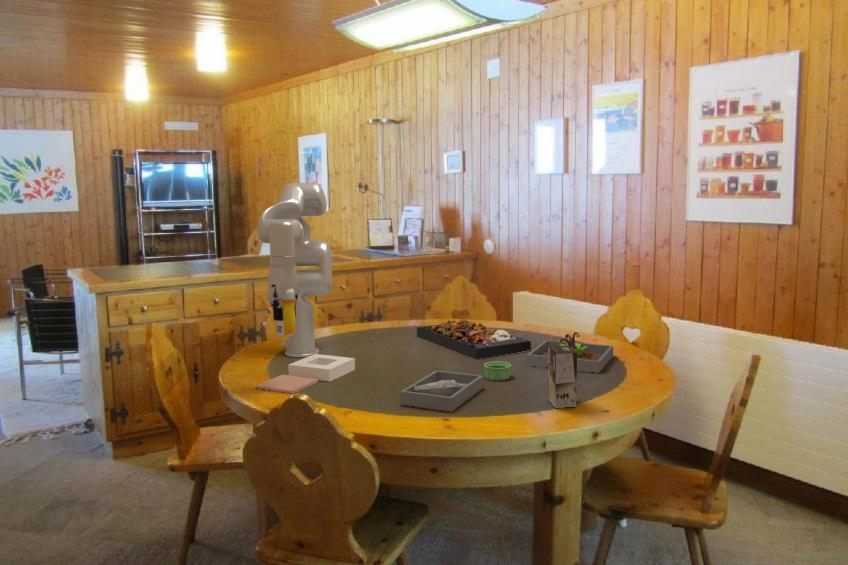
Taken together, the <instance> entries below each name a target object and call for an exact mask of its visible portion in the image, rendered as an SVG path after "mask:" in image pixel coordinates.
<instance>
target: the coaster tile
mask: <svg viewBox="0 0 848 565" xmlns="http://www.w3.org/2000/svg"><path fill="white" fill-rule="evenodd" d="M317 383H319V380H318V379H313V378H305V377H297V376H290V375H289V374H281V375H278V376H276V377H273V378H271V379H268V380H266V381H264V382H262V383H259V384H256V385H255V389H256V388H259V389H258V390H261V389H265V390H264V391H268V390H271V391H270V392H275V391H277V393H282V392H284V394H289V393H290V395H294V394H296V393H298V392H301V391H302V390H304V389H307V388H309V387H311V386H313V385H315V384H317ZM295 392H296V393H295Z"/></svg>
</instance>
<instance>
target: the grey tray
mask: <svg viewBox="0 0 848 565" xmlns="http://www.w3.org/2000/svg"><path fill="white" fill-rule="evenodd" d="M440 380H444V381H445V380H449V381H450V380H455V381H456V382H457V383H460V384H464V383H465V384H467V385H466V386H464V387H463V388H462V389H460V390H459V391H457V392H456V393H454V394H453V395H452V396H450V397H448V396H441V395H433V394H425V393H417V392H412V391H413V389H414V386H413V385H416V386H417V387H418V386H420V385H425V384H428V383H434V382H438V381H440ZM482 389H484V376H483V375H480V374H470V373H462V372H453V371H446V370H445V371H443V370H434V371H433V372H431V373H430V374H427V375H426V376H423V377H422V378H421V379H419V380H418V381H416V382H414V383H413V384H410V385H409V386H407V387H406V388H404V389H402V390H401V391H400V392H399V393H400V394H399V395H400V398H399V399H400V406H405V405H407V407H412V406H414V408H419V407H420V409H421V408H422V409H426V408H427V410H434V409H435V411H441V410H442V411H441V412H448V411H449V412H448V413H453V412H455V410H457V409H458V408H459V407H460V406H462V405H463V404H465V403H466V402H467V401H469V400H470V399H471V398H472V397H474V395H476V394H478V393H479V392H480V391H481V390H482ZM477 392H478V393H477ZM465 401H466V402H465ZM457 407H458V408H457ZM452 411H453V412H452Z"/></svg>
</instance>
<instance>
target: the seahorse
mask: <svg viewBox="0 0 848 565" xmlns="http://www.w3.org/2000/svg"><path fill="white" fill-rule="evenodd" d="M466 385H467V384H465V383H464V384H460V383H457V382H456V381H455V380H450V381H449V380H445V381H444V380H440V381H438V382H434V383H428V384H425V385H420V386H418V387H417V386H416V385H413V386H414V389H413V391H412V392H417V393H425V394H433V395H441V396H448V397H450V396H452V395H453V394H454V393H456V392H457V391H459V390H460V389H462V388H463V387H464V386H466Z"/></svg>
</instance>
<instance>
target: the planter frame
mask: <svg viewBox="0 0 848 565" xmlns="http://www.w3.org/2000/svg"><path fill="white" fill-rule="evenodd" d="M577 343H578V344H581V346H580V348H581V347H585V346H588V347H587V348H585V349H584V350H586V351H588V352H592V353H596V354H600V355H602V356H601V357H600V358H599V359H598V360H597V361H593V360H583V359H577V370H578V371H577V372H579V371H587V372H586V373H589V372H597V373H596V374H598V373H599V372H600V371H601V370H602V369H603V370H604V368H605V367H606V366H607V365H606V363H607V362H608V361H609V360H610V358H611V357H612V356H613V357H614V345H606V344H596V343H595V344H594V343H585V342H584V343H582V342H577ZM560 344H564V345H566V346H567V341H562V343H558V340H550V339H548V340H547V339H545V340H544V341H543V342H541V343H540V344H539V345H537V346H536V347H534V349H531V351H529V352H527V354H526V358H525V359H526V362H525V363H526V364H525V365H530V366H529V367H531V366H541V367H548V356H541V355H542V354H543V353H544V352H546V351H547V350H548V347H549V346H561V345H560ZM547 352H548V351H547ZM613 357H612V358H613ZM610 361H611V360H610ZM610 361H609V362H610ZM609 362H608V363H609ZM608 363H607V364H608ZM605 365H606V366H605ZM604 366H605V367H604ZM603 367H604V368H603ZM603 370H602V371H603ZM602 371H601V372H602ZM601 372H600V373H601ZM600 373H599V374H600Z"/></svg>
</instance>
